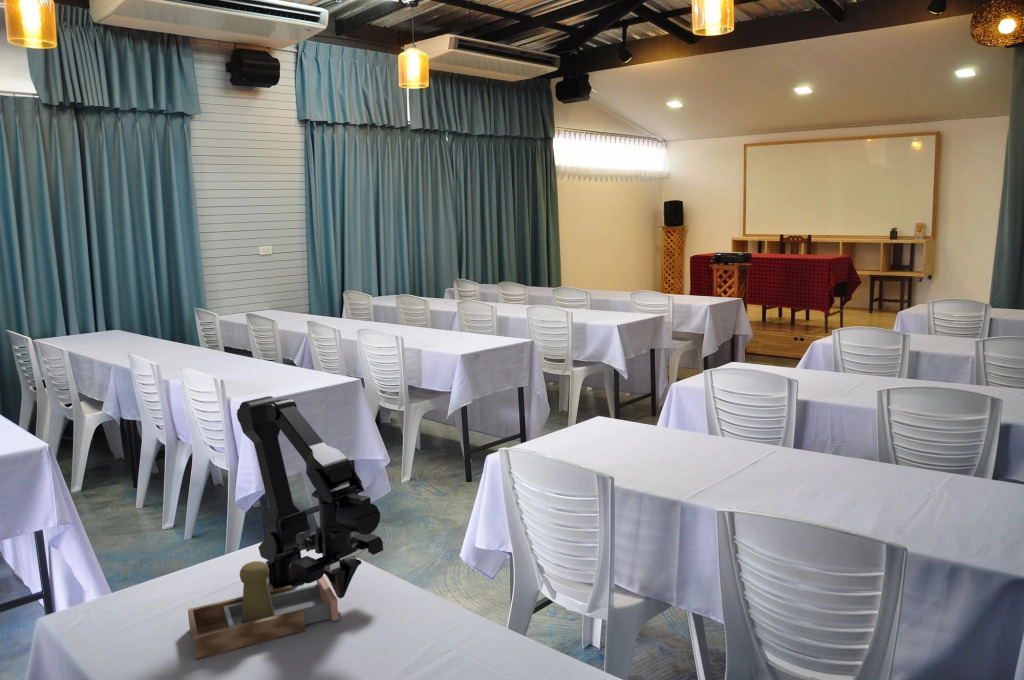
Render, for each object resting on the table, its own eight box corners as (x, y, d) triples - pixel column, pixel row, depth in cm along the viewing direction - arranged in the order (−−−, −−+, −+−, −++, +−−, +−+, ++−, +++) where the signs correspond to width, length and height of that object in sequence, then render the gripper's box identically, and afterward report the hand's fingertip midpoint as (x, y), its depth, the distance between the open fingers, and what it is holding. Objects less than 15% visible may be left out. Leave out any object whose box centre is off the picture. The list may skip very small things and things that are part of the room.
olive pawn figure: (234, 624, 145) (229, 568, 143) (256, 609, 151) (251, 555, 149) (260, 630, 143) (255, 573, 141) (281, 614, 148) (277, 559, 147)
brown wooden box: (292, 604, 155) (291, 585, 155) (305, 631, 145) (303, 611, 144) (189, 629, 147) (187, 609, 146) (195, 659, 137) (193, 638, 136)
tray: (323, 593, 158) (322, 574, 157) (338, 619, 148) (337, 599, 147) (223, 617, 150) (222, 597, 149) (232, 646, 139) (230, 625, 139)
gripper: (347, 498, 163) (352, 569, 166) (269, 527, 149) (275, 604, 152) (382, 510, 156) (387, 583, 159) (304, 541, 142) (310, 621, 144)
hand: (340, 597), depth 153 cm, fingers closed
